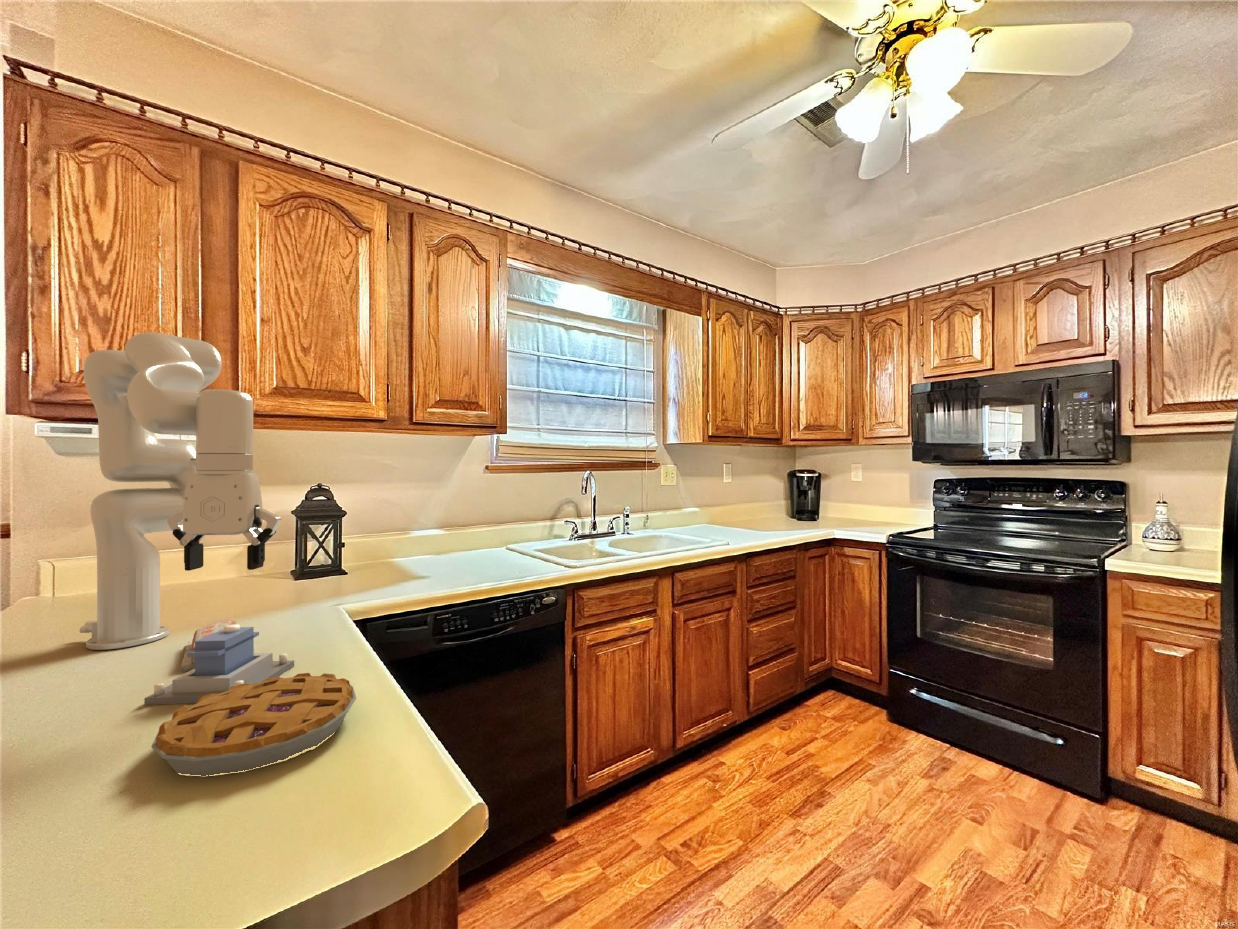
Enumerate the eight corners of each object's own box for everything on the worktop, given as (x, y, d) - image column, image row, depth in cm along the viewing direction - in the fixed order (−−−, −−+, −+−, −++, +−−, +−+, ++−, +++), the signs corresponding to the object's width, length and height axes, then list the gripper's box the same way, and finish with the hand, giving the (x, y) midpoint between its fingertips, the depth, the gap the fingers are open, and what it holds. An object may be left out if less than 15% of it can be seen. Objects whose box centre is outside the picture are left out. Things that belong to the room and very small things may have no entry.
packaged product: (250, 635, 95) (180, 647, 89) (250, 661, 95) (180, 675, 89) (248, 614, 110) (187, 623, 104) (248, 637, 110) (187, 647, 104)
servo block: (187, 691, 79) (187, 639, 79) (232, 666, 89) (232, 620, 89) (218, 690, 79) (218, 638, 79) (259, 665, 89) (259, 619, 89)
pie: (113, 809, 53) (113, 760, 53) (191, 716, 73) (191, 681, 73) (349, 759, 62) (349, 718, 62) (361, 689, 82) (361, 658, 82)
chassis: (144, 705, 77) (144, 684, 77) (212, 668, 91) (212, 651, 91) (241, 701, 78) (241, 681, 78) (294, 666, 92) (294, 649, 92)
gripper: (150, 465, 80) (150, 574, 80) (265, 465, 81) (265, 572, 81) (187, 465, 88) (187, 565, 88) (292, 465, 89) (292, 563, 89)
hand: (224, 568), depth 84 cm, fingers open, 9 cm apart
